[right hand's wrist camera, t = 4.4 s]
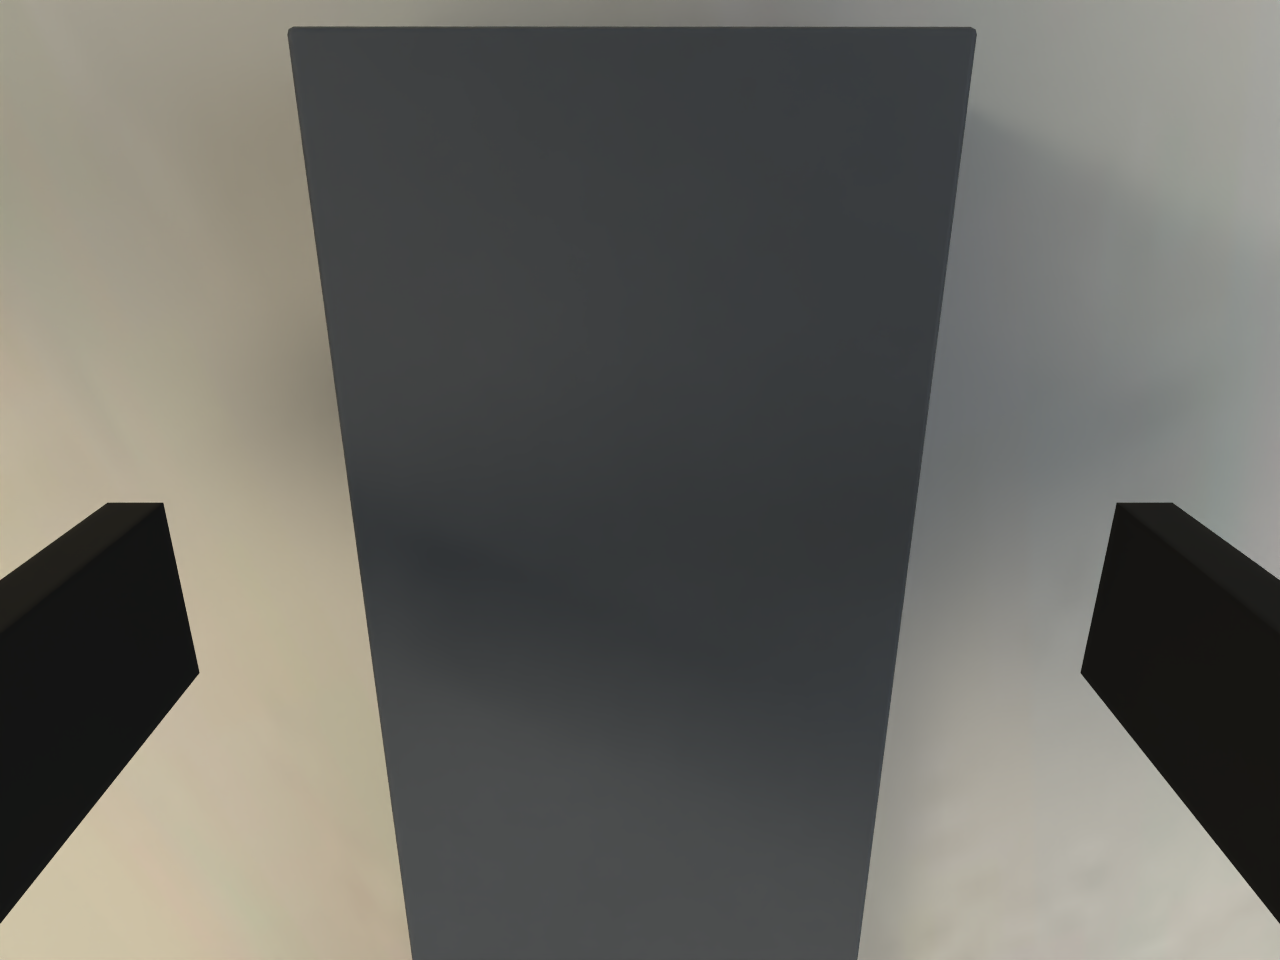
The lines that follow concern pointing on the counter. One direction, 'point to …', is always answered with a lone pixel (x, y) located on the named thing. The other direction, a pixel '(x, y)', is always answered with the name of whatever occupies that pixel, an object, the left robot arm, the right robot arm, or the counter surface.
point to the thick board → (633, 459)
